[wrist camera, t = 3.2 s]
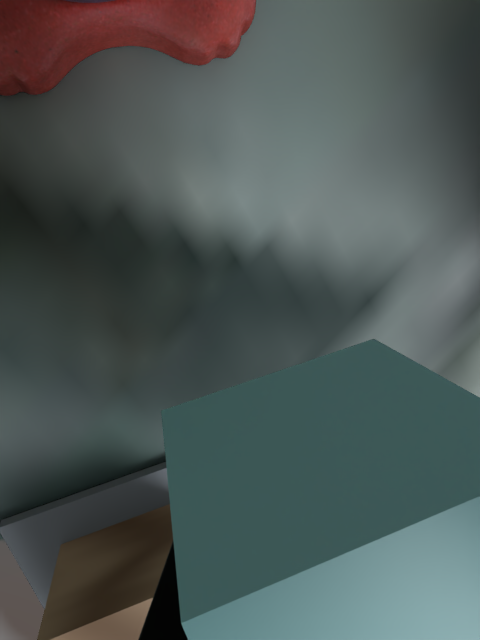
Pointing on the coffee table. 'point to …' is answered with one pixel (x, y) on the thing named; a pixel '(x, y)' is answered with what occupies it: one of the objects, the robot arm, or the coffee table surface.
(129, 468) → the coffee table surface
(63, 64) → the stacking bear
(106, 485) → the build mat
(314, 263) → the coffee table surface
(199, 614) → the teal brick
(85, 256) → the coffee table surface
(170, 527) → the walnut brick
